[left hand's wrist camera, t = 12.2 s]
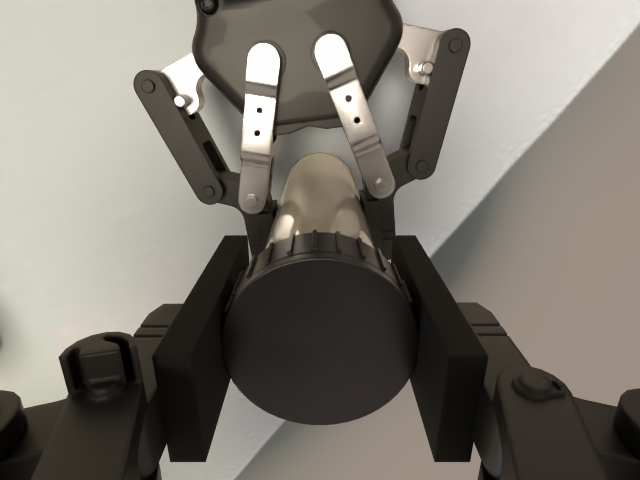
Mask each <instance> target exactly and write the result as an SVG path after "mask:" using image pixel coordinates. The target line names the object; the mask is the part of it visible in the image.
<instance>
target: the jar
mask: <svg viewBox="0 0 640 480" xmlns="http://www.w3.org/2000/svg"><path fill="white" fill-rule="evenodd" d="M313 230H317V232H330V233H336V231H340V234H342V235H346V236H349V237H353V238H355V239H357V238H358V237H359V238H361V239H362V242H364V243H366V244H368V245H369V246H371V247H373V248H374V249H375V250H376V248H375V245H374V242H373V239H372V236H371V233H370V230H369V227H368V224H367V221H366V218H365V215H364V212H363V209H362V206H361V203H360V199H359V196H358V193H357V190H356V187H355V184H354V181H353V178H352V175H351V173H350V171H349V169H348V167H347V166H346V165H345V164H344V163H343V162H342V161H341V160H340V159H339V158H337V157H335V156H333V155H330V154H326V153H314V154H310V155H307V156H305V157H303V158H301V159H300V160H299V161H298V162H297V163H296V164H295V165H294V166H293V167H292V169H291V171H290V173H289V175H288V178H287V181H286V184H285V187H284V191H283V194H282V197H281V200H280V203H279V206H278V209H277V212H276V215H275V218H274V221H273V224H272V227H271V230H270V233H269V236H268V240H267V243H266V246H265V249H266V248H268V247H269V243H271V242H273V243H274V244H275V243H276V242H278V241H280V240H283V239H285V238H288V237H290V234H292V233H294V235H299V234H303V233H312V232H313ZM265 249H264V250H265Z"/></svg>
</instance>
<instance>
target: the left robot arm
mask: <svg viewBox="0 0 640 480" xmlns="http://www.w3.org/2000/svg"><path fill="white" fill-rule="evenodd" d="M391 263H394V264H395V266H396V268H397V271H398V273H399V276H400V278H401V280H404V281H405V284H406V286H407V289H408V291H409V293H410V296H411V298H412V300H413V303H414V305H412V306H411V307H412V309H413V312H414V315H415V317H416V320H417V324H418V329H419V347H418V357H417V361H416V365H415V368H414V370H413V372H412V374H411V376H410V381H411V384H412V388H413V391H414V394H415V398H416V401H417V404H418V408H419V411H420V414H421V418H422V421H423V424H424V428H425V431H426V435H427V438H428V441H429V445H430V448H431V451H432V455H433V458H434V461H435V462H470V459H471V453H472V448H473V442H474V443H475V446H476V448H477V451H478V453H479V455H480V458H481V465H480V470H479V476H478V480H640V389H633V390H627V391H626V392H625V393H623V394H622V395H621V397H620V400H619V403H618V406H617V407H615V406H611V405H606V404H601V403H597V402H592V401H587V400H583V399H580V398H576V397H573V396H572V393H571V392H570V390H569V389H568V388H567V386H566V385H565V384H564V383H563V382H562V381H560V380H559V379H558V378H556V377H555V376H554V375H552V374H549V373H547V372H545V371H543V370H541V369H537V368H533V367H531V366H530V364H529V363H528V362H527V360H526V359H525V358H524V356H523V355H522V353H521V352H520V351H519V349H518V348H517V347H516V345H515V344H514V343H513V341H512V340H511V338H510V337H509V336H507V333H506V332H505V330H504V329H503V328H502V326H500V323H499V322H498V321H497V319H496V318H495V317H494V315H493V314H492V313H491V312H490V311H488V310H487V309H485V308H484V307H482V306H481V305H479V304H478V303H456V302H455V300H454V299H453V297H452V295H451V294H450V292H449V290H448V289H447V287H446V285H445V284H444V282H443V280H442V279H441V277H440V275H439V274H438V272H437V271H436V269H435V267H434V266H433V264H432V262H431V261H430V259H429V257H428V256H427V254H426V252H425V251H424V249H423V248H422V246H421V244H420V243H419V241H418V239H417V238H416V236H393V241H392V255H391ZM248 265H249V252H248V237H247V236H224V238H223V240H222V241H221V243H220V245H219V246H218V248H217V250H216V251H215V253H214V255H213V256H212V258H211V259H210V261H209V263H208V264H207V266H206V268H205V269H204V271H203V273H202V274H201V276H200V278H199V279H198V281H197V282H196V284H195V286H194V287H193V289H192V291H191V292H190V294H189V296H188V297H187V299H186V301H185V302H184V304H163V305H161V306H160V307H159V308H157V309H156V310H154V311H153V312H151V313H150V314H149V315H148V316H147V317H146V319H145V320H144V321H143V323H142V324H141V327H140V328H138V330H137V331H136V332H135V334H134V337H132V336H131V335H130V334H126V333H122V332H105V333H101V334H96V335H92V336H89V337H87V338H84V339H82V340H79V341H77V342H76V343H74V344H73V345H71V346H70V347H68V348H66V349H65V351H64V352H63V353H62V354H61V355H60V356H59V360H60V364H61V368H62V371H63V375H64V379H65V382H66V386H67V389H68V393H69V394H68V396H67V398H66V399H64V400H60V401H57V402H52V403H47V404H43V405H38V406H33V407H29V408H23V405H22V402H21V399H20V397H19V396H18V395H17V394H15V393H14V392H10V391H3V390H1V391H0V480H162V478H161V471H160V465H159V461H160V458H161V456H162V453H163V451H164V449H165V446H166V444H167V446H168V452H169V458H170V462H206V459H207V455H208V452H209V449H210V445H211V442H212V439H213V435H214V432H215V429H216V425H217V422H218V419H219V415H220V412H221V409H222V405H223V402H224V399H225V395H226V392H227V389H228V385H229V382H230V379H231V377H230V375H229V374H228V371H227V369H226V366H225V364H224V360H223V354H222V345H221V330H222V326H223V322H224V318H225V316H226V315H224V314H223V313H224V310H225V308H226V305H227V303H228V300H229V298H230V295H231V293H232V291H233V288H234V286H235V284H236V281H237V279H238V277H239V274H240V272H241V270H242V271H245V270H246V268H247V267H248Z"/></svg>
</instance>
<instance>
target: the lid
mask: <svg viewBox="0 0 640 480" xmlns="http://www.w3.org/2000/svg"><path fill="white" fill-rule="evenodd" d="M412 305H414V303H413V300H412V298H411V296H410V293H409V291H408V289H407V286H406V284H405V281H404V280H401V278H400V276H399V273H398V271H397V268H396V266H395V264H394V263H391V264H390V262H389V261H388V260H387V259H386V258H385V257H384V256H383V255H382V253H381V250H380V249H379V248H377V249H376V250H375V249H374V248H373V247H371V246H369V245H368V244H366V243H364V242H362V239H361V238H359V237H358V238H357V239H355V238H353V237H349V236H346V235H342V234H340V231H336V233H330V232H317V230H313V232H312V233H303V234H299V235H294V233H292V234H290V237H288V238H285V239H283V240H280V241H278V242H276V243H275V244H274V243H273V242H271V243H269V247H268V248H266V249H265V250H264V251H262V252H261V253H260V254H259V255H258V256H256V255H254V256H253V257H252V259H251V262H250V264H249V265H248V267H247V268H246V270H245V271H242V270H241V272H240V274H239V277H238V279H237V281H236V284H235V286H234V288H233V291H232V293H231V295H230V298H229V300H228V303H227V305H226V308H225V310H224V313H223V314H224V315H226V316H225V318H224V322H223V326H222V330H221V345H222V354H223V360H224V364H225V366H226V369H227V371H228V374H229V375H230V377H231V379H232V381H233V382H234V384H235V385H236V386H237V388H238V389H239V390H240V391H241V392H242V393H243V394H244V395H245V396H246V397H247V398H248V399H249V400H250V401H251V402H252V403H254V404H255V405H256V406H258V407H259V408H261V409H263V410H264V411H266V412H268V413H270V414H272V415H274V416H276V417H279V418H282V419H285V420H288V421H292V422H296V423H301V424H309V425H331V424H339V423H344V422H349V421H352V420H356V419H359V418H361V417H364V416H366V415H368V414H371V413H372V412H374V411H376V410H378V409H380V408H381V407H382V406H384V405H385V404H387V403H388V402H389V401H391V400H392V399H393V398H394V397H395V396H396V395H397V394H398V393H399V392H400V391H401V389H402V388H403V387H404V386H405V384H406V383H407V381H408V379H409V378H410V376H411V374H412V372H413V370H414V368H415V365H416V361H417V357H418V347H419V329H418V324H417V320H416V317H415V315H414V312H413V309H412V307H411V306H412Z"/></svg>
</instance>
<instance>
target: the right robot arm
mask: <svg viewBox="0 0 640 480" xmlns="http://www.w3.org/2000/svg"><path fill="white" fill-rule="evenodd" d="M195 4H196V10H197V26H196V31H195V35H194V38H193V42H192V53H191V54H189V55H187V56H185V57H183V58H182V59H180V60H178V61H176V62H174V63H172V64H170V65H168V66H167V67H165V68H163V69H161V70H159V71H153V70H143V71H141V72H139V73H138V74H137V75H136V76H135V78H134V89H135V92H136V94H137V95H138V97H139V99H140V100H141V102H142V104H143V106H144V107H145V109H146V111H147V112H148V114H149V116H150V118H151V119H152V121H153V123H154V124H155V126H156V128H157V129H158V131H159V133H160V135H161V136H162V138H163V140H164V141H165V143H166V145H167V147H168V148H169V150H170V152H171V153H172V155H173V157H174V158H175V160H176V162H177V164H178V165H179V167H180V169H181V170H182V172H183V174H184V176H185V177H186V179H187V181H188V182H189V184H190V186H191V187H192V189H193V191H194V193H195V194H196V196H197V198H198V199H199V200H200V201H201V202H203V203H205V204H208V205H212V204H216V203H221V204H225V205H230V206H233V207H235V208H237V209H238V210H239V211H240V212H241V213H242V214H243V216H244V219H245V224H246V229H247V234H248V239H249V244H250V249H251V253H252V257H253V256H254V255H256V256H258V255H259V254H260V253H261V252H262V251H264V249H265V246H266V243H267V240H268V236H269V233H270V230H271V227H272V224H273V221H274V218H275V215H276V212H277V209H278V203H277V200H272V197H271V188H272V180H273V171H274V163H275V156H276V151H277V144H278V136H279V135H283V134H290V133H292V132H295V131H297V130H299V129H302V128H304V127H307V126H311V127H318V128H325V129H329V128H337V127H343V129H344V132H345V134H346V137H347V139H348V142H349V144H350V146H351V149H352V151H353V154H354V156H355V159H356V161H357V164H358V166H359V169H360V171H361V174H362V181H363V190H359V195H360V203H361V206H362V209H363V212H364V215H365V218H366V221H367V224H368V227H369V230H370V233H371V236H372V239H373V242H374V245H375V248H376V249H377V248H379V249H380V250H381V253H382V255H383V256H384V257H385V258H386V259H387V260H390V259H391V255H392V241H393V236H396V235H395V219H394V204H393V199H394V195H395V193H396V191H397V190H398V189H399V188H400V187H401V186H403V185H405V184H407V183H409V182H411V181H413V180H415V179H419V180H423V179H426V178H428V177H430V176H431V175H432V174H433V172H434V171H435V168H436V164H437V161H438V157H439V154H440V150H441V147H442V144H443V140H444V137H445V133H446V130H447V126H448V123H449V119H450V116H451V112H452V109H453V105H454V102H455V98H456V95H457V91H458V88H459V84H460V81H461V77H462V74H463V70H464V67H465V63H466V60H467V56H468V53H469V49H470V37H469V35H468V34H467V33H466V32H465V31H464V30H462V29H459V28H454V29H450V30H446V31H437V30H432V29H427V28H423V27H418V26H413V25H408V24H404V23H403V22H402V18H401V15H400V13H399V11H398V9H397V8H396V6H395V4H394V2H393V0H195ZM396 50H397V51H399V52H400V53H401V54H402V55H403V57H404V59H405V75H406V77H407V79H408V80H409V81H410V82H412V83H415V84H416V86H415V90H414V94H413V97H412V101H411V105H410V109H409V113H408V117H407V121H406V125H405V129H404V133H403V137H402V141H401V145H400V149H399V150H398V151H396V152H394V153H392V154H390V155H388V156H385V153H384V150H383V148H382V145H381V140H380V137H379V134H378V131H377V129H376V126H375V123H374V120H373V118H372V115H371V112H370V110H369V107H368V104H367V101H368V99H369V97H370V96H371V94H372V92H373V90H374V88H375V87H376V85H377V83H378V81H379V80H380V78H381V76H382V74H383V72H384V71H385V69H386V67H387V65H388V64H389V62H390V60H391V58H392V56H393V55H394V53H395V51H396ZM205 77H207V78H208V79H209V81H210V82H211V83H212V84H213V85H214V86H215V87H216V88H217V89H218V90H219V91H220V92H221V93H222V94H223V95H224V96H225V97H226V98H227V99H228V100H229V101H230V102H231V103H232V104H233V105H234V106H235V107H236V109H237V110H238V111H239V112H240V113H241V114H242V115H243V116H244V119H243V130H242V142H241V174H239V173H235V172H230V170H229V168H228V166H227V164H226V162H225V161H224V159H223V157H222V155H221V153H220V151H219V150H218V148H217V146H216V144H215V142H214V140H213V139H212V137H211V135H210V133H209V131H208V129H207V128H206V126H205V124H204V122H203V120H202V118H201V116H200V115H199V113H198V112H199V111H201V110H202V108H203V106H204V102H205V100H204V95H203V93H202V82H203V80H204V79H205Z"/></svg>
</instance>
